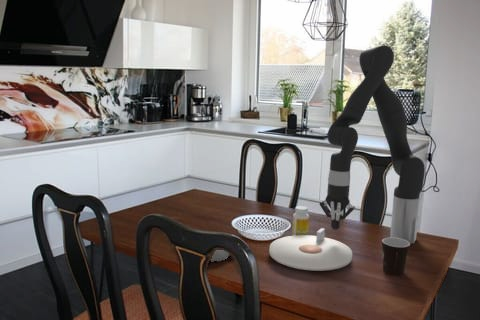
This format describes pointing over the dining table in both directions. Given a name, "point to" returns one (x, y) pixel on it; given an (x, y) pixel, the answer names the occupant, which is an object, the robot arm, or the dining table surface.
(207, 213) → the dining table surface
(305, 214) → the supplement bottle
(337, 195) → the robot arm
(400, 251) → the coffee mug
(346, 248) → the disc
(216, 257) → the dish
